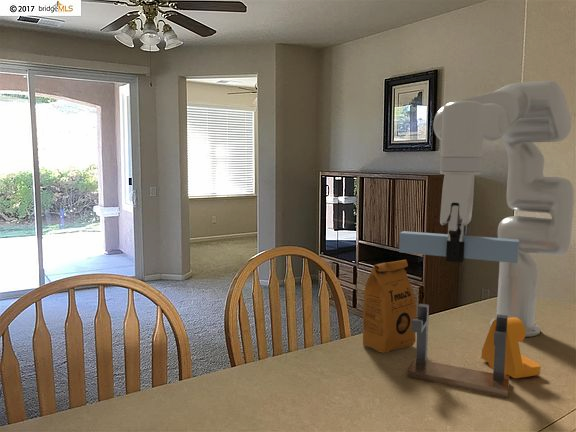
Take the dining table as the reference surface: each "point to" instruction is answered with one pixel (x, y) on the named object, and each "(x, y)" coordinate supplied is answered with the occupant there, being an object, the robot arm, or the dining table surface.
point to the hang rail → (472, 246)
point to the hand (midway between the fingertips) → (456, 258)
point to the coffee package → (388, 308)
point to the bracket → (511, 350)
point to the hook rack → (458, 375)
